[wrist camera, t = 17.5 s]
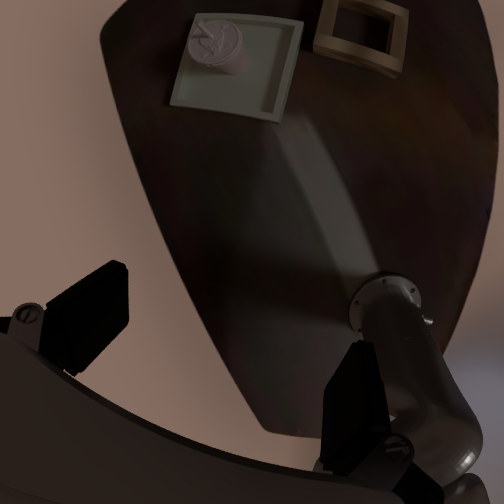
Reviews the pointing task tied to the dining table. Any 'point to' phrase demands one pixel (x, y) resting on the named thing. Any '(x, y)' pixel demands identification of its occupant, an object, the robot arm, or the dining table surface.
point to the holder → (387, 64)
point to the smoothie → (218, 46)
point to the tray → (252, 79)
